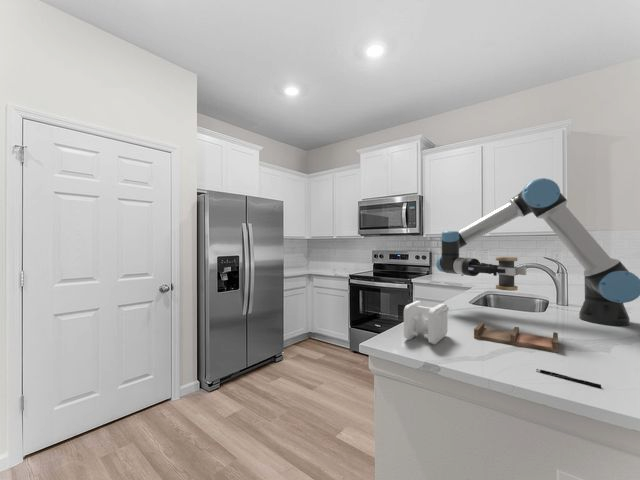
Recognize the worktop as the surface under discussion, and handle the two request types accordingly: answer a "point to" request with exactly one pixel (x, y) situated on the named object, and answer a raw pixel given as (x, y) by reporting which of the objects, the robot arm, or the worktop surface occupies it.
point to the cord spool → (506, 280)
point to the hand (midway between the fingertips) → (520, 271)
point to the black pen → (569, 378)
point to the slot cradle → (517, 338)
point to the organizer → (425, 321)
